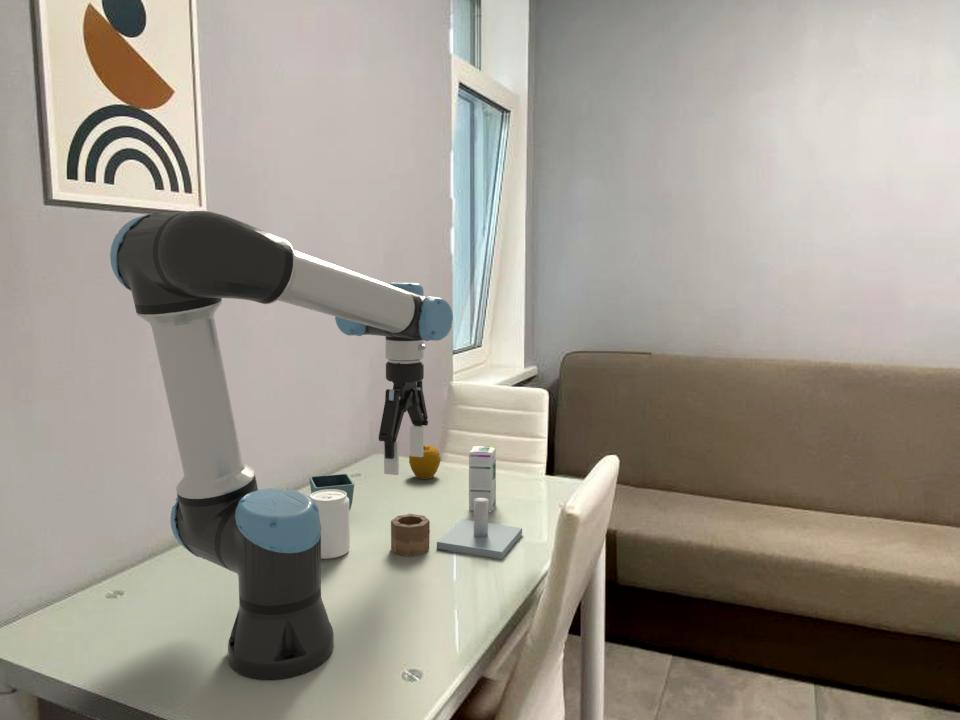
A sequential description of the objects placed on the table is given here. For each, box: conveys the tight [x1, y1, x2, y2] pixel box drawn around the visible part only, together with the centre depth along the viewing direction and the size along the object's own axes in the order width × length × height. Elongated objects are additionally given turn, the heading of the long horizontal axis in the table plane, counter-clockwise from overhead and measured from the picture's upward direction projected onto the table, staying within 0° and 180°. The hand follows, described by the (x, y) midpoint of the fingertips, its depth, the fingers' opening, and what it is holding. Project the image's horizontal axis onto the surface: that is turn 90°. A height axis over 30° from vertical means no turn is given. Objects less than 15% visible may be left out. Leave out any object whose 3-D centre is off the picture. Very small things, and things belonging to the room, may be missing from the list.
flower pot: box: [309, 473, 355, 512], centre depth 160 cm, size 9×9×9 cm
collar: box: [390, 513, 431, 557], centre depth 144 cm, size 7×7×6 cm
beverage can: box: [309, 489, 351, 560], centre depth 141 cm, size 8×8×12 cm
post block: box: [436, 498, 523, 560], centre depth 148 cm, size 14×14×9 cm
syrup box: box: [468, 445, 497, 512], centre depth 168 cm, size 6×6×14 cm
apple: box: [408, 445, 441, 480], centre depth 193 cm, size 9×8×9 cm
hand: (404, 464), depth 143 cm, fingers open, 13 cm apart
